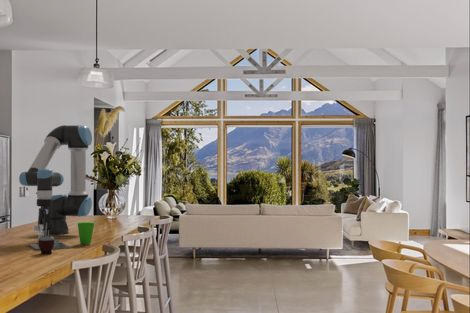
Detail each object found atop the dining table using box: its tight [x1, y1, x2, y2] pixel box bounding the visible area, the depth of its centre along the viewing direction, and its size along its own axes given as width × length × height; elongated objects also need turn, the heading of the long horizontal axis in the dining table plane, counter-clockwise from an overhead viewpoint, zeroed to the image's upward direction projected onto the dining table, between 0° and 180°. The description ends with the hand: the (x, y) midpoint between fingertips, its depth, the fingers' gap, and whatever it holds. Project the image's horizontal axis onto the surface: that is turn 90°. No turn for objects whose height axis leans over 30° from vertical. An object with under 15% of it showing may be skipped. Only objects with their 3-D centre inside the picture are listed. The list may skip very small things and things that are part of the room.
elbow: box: [32, 224, 44, 243], centre depth 281 cm, size 8×5×10 cm, turn 122°
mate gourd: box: [37, 223, 55, 255], centre depth 251 cm, size 8×8×15 cm
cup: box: [76, 221, 95, 245], centre depth 283 cm, size 9×9×11 cm
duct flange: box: [28, 239, 70, 251], centre depth 270 cm, size 16×16×3 cm
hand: (43, 241), depth 281 cm, fingers open, 9 cm apart
